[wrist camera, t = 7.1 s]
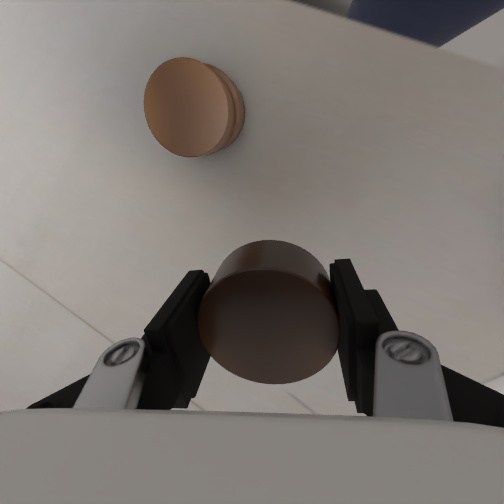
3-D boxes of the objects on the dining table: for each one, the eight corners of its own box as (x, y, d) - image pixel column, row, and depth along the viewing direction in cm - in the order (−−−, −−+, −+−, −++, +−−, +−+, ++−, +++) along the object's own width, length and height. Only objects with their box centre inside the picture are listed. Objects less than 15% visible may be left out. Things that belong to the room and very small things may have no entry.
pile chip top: (229, 59, 19) (220, 48, 16) (241, 150, 21) (235, 151, 19) (150, 74, 20) (132, 66, 18) (170, 159, 22) (156, 162, 20)
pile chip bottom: (239, 64, 21) (232, 55, 19) (249, 145, 23) (244, 146, 21) (168, 77, 22) (153, 70, 20) (184, 154, 24) (173, 156, 22)
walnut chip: (329, 233, 10) (339, 261, 8) (333, 338, 12) (343, 385, 10) (203, 245, 11) (180, 273, 9) (226, 340, 13) (212, 384, 11)
